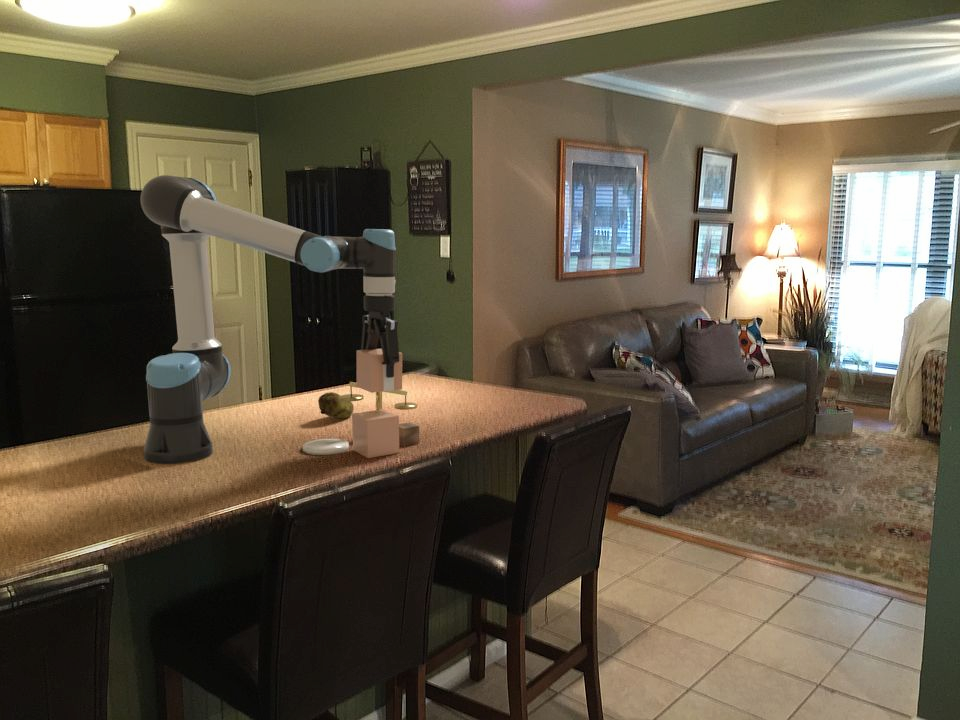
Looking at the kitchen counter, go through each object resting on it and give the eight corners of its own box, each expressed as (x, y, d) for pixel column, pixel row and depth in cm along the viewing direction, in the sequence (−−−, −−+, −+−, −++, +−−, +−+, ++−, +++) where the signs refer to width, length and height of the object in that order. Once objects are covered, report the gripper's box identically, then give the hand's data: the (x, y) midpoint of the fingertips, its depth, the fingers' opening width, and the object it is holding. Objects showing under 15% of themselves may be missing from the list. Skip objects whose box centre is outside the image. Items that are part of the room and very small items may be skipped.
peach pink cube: (371, 392, 191) (371, 355, 189) (356, 386, 197) (356, 350, 196) (402, 389, 195) (402, 352, 194) (386, 383, 202) (386, 348, 201)
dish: (313, 457, 187) (313, 453, 187) (295, 447, 196) (295, 443, 196) (356, 450, 193) (356, 446, 193) (337, 440, 202) (337, 436, 202)
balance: (346, 442, 200) (344, 385, 198) (336, 437, 205) (334, 381, 202) (421, 430, 212) (420, 376, 209) (410, 426, 217) (409, 373, 214)
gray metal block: (403, 446, 197) (403, 428, 196) (394, 442, 201) (394, 424, 200) (419, 443, 200) (419, 425, 199) (410, 439, 203) (410, 422, 203)
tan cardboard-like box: (368, 458, 187) (367, 420, 185) (353, 450, 194) (352, 413, 192) (399, 452, 191) (398, 415, 190) (383, 445, 198) (382, 409, 196)
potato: (365, 416, 228) (364, 389, 226) (329, 425, 218) (328, 396, 217) (346, 412, 233) (345, 385, 232) (310, 420, 223) (309, 392, 222)
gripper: (414, 297, 186) (414, 393, 190) (373, 290, 203) (373, 378, 207) (386, 298, 182) (386, 396, 186) (346, 291, 199) (347, 381, 203)
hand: (379, 387), depth 196 cm, fingers closed on peach pink cube, 8 cm apart
